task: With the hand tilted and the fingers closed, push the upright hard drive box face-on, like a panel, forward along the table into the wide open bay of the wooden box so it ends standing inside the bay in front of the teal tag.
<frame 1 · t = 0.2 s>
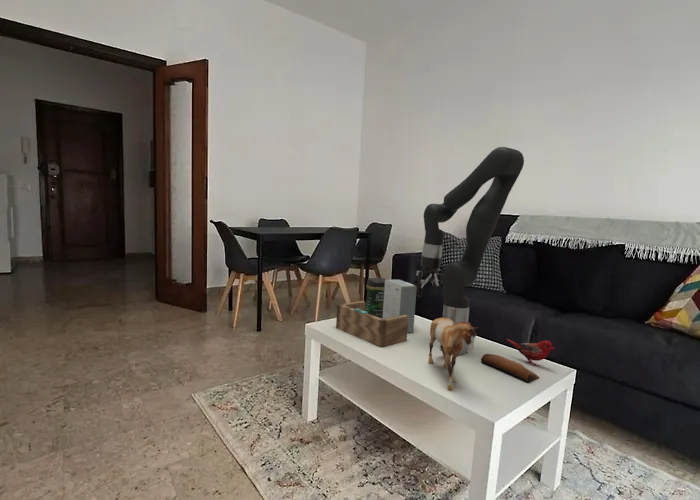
hand: (426, 295, 159), 18 cm above the table, tool pointing down, fingers open, 8 cm apart
hard drive box: (397, 328, 174), on the table
horse figurine: (452, 374, 129), on the table
coffee jar: (374, 317, 189), on the table
sunglasses case: (509, 372, 135), on the table
wooden box: (370, 334, 164), on the table
decorative bird figurine: (526, 363, 142), on the table
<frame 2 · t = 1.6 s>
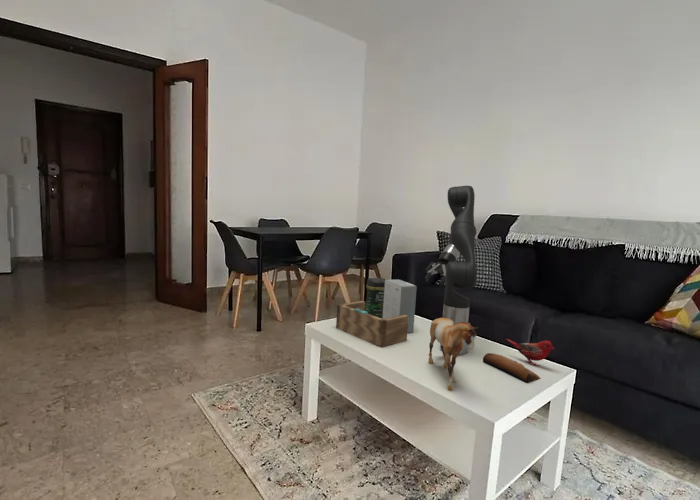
hand: (433, 282, 188), 18 cm above the table, tool tilted 45°, fingers open, 8 cm apart
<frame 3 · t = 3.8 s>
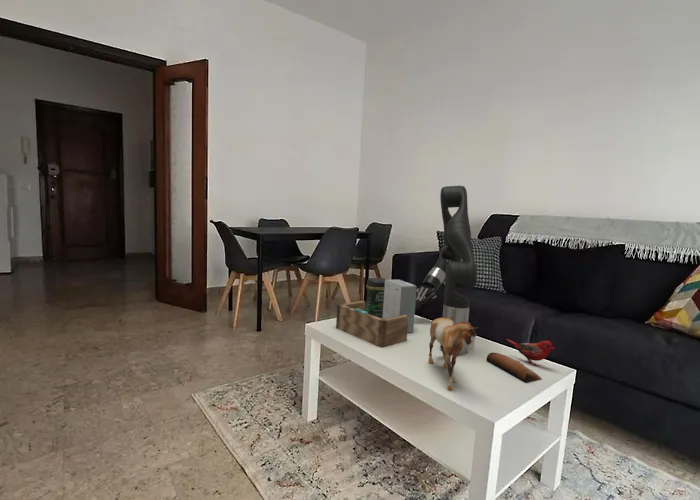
hand: (414, 308, 180), 7 cm above the table, tool tilted 45°, fingers closed
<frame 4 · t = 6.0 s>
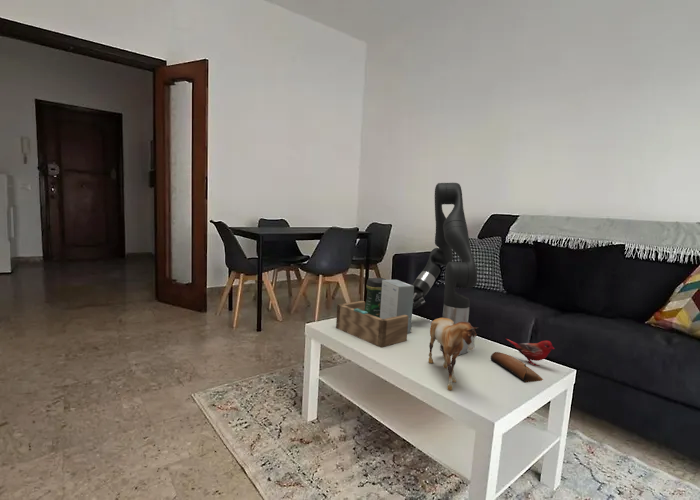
hand: (403, 313, 175), 6 cm above the table, tool tilted 45°, fingers closed
hard drive box: (394, 328, 173), on the table, touching gripper
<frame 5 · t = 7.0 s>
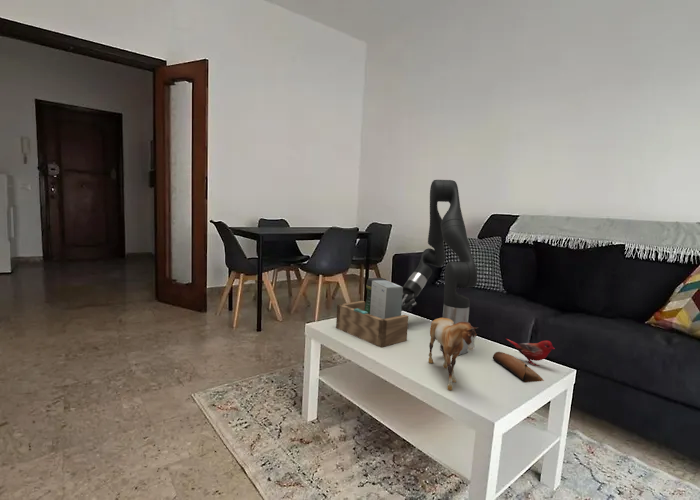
hand: (393, 315, 172), 6 cm above the table, tool tilted 45°, fingers closed
hard drive box: (383, 330, 170), on the table
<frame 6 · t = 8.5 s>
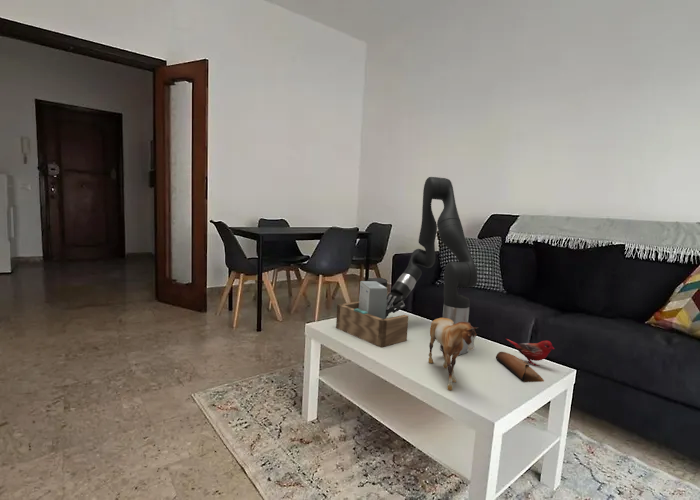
hand: (381, 318, 167), 6 cm above the table, tool tilted 45°, fingers closed
hard drive box: (370, 332, 167), on the table, touching gripper
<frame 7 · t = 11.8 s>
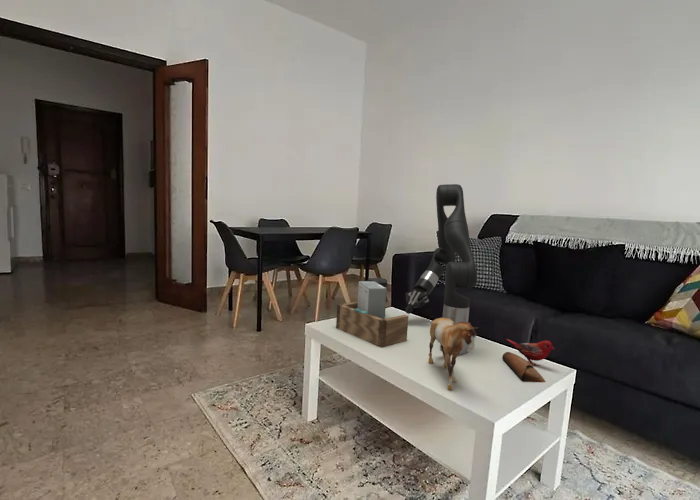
hand: (407, 312, 177), 6 cm above the table, tool tilted 45°, fingers closed
hard drive box: (368, 332, 167), on the table
sunglasses case: (522, 372, 135), on the table
everything else where it was.
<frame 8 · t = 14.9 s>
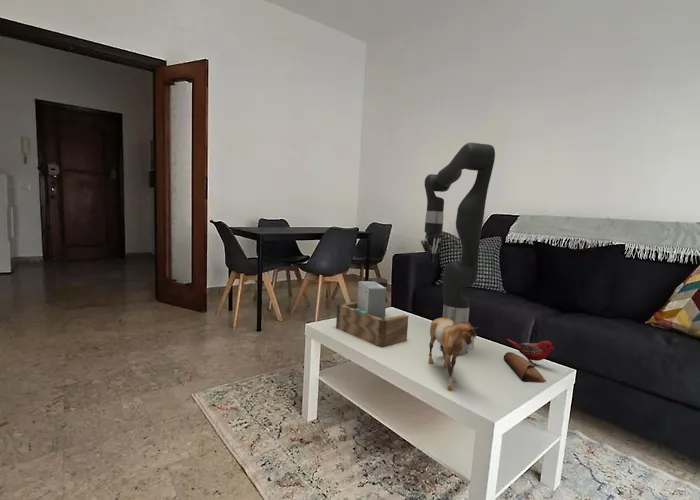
hand: (430, 262, 174), 29 cm above the table, tool pointing down, fingers closed
at the end: hard drive box inside the target area (2.7 cm from its centre), on the table; hard drive box tilted 0° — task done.
